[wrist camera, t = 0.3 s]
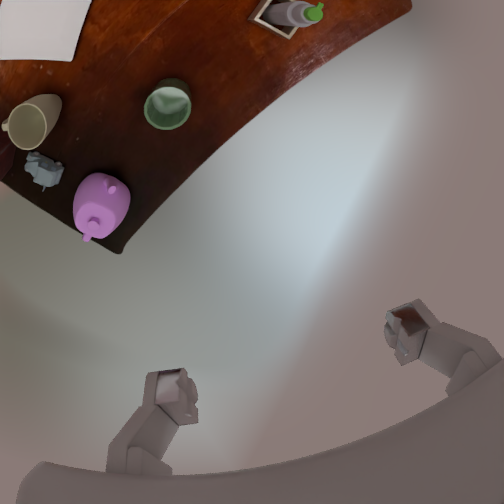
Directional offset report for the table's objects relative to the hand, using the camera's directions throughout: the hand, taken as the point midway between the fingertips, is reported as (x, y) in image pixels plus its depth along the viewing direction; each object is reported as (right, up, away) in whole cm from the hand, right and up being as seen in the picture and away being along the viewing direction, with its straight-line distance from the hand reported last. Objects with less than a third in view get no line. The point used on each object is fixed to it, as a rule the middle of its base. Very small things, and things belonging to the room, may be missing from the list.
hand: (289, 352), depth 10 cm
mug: (-43, +33, +30) cm, 62 cm away
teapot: (-35, +18, +48) cm, 63 cm away
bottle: (+3, +47, +28) cm, 55 cm away
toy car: (-49, +23, +39) cm, 67 cm away
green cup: (-17, +33, +37) cm, 53 cm away
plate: (-40, +49, +14) cm, 65 cm away
